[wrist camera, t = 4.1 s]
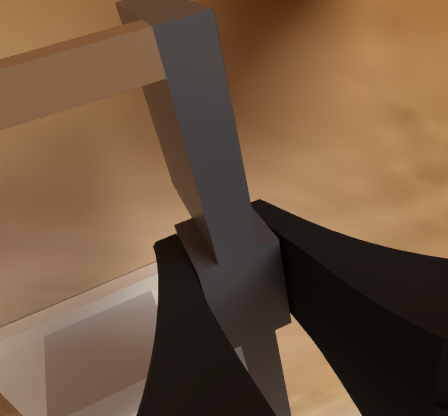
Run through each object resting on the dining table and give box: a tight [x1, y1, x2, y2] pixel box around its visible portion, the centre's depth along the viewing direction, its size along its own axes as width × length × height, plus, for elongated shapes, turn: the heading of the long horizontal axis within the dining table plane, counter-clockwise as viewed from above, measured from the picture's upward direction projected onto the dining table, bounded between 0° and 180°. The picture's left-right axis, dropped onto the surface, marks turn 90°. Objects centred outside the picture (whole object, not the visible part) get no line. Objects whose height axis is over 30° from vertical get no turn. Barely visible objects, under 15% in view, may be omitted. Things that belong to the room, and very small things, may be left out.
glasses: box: [0, 0, 291, 416], centre depth 11 cm, size 12×13×4 cm
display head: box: [0, 262, 158, 416], centre depth 25 cm, size 16×16×6 cm
